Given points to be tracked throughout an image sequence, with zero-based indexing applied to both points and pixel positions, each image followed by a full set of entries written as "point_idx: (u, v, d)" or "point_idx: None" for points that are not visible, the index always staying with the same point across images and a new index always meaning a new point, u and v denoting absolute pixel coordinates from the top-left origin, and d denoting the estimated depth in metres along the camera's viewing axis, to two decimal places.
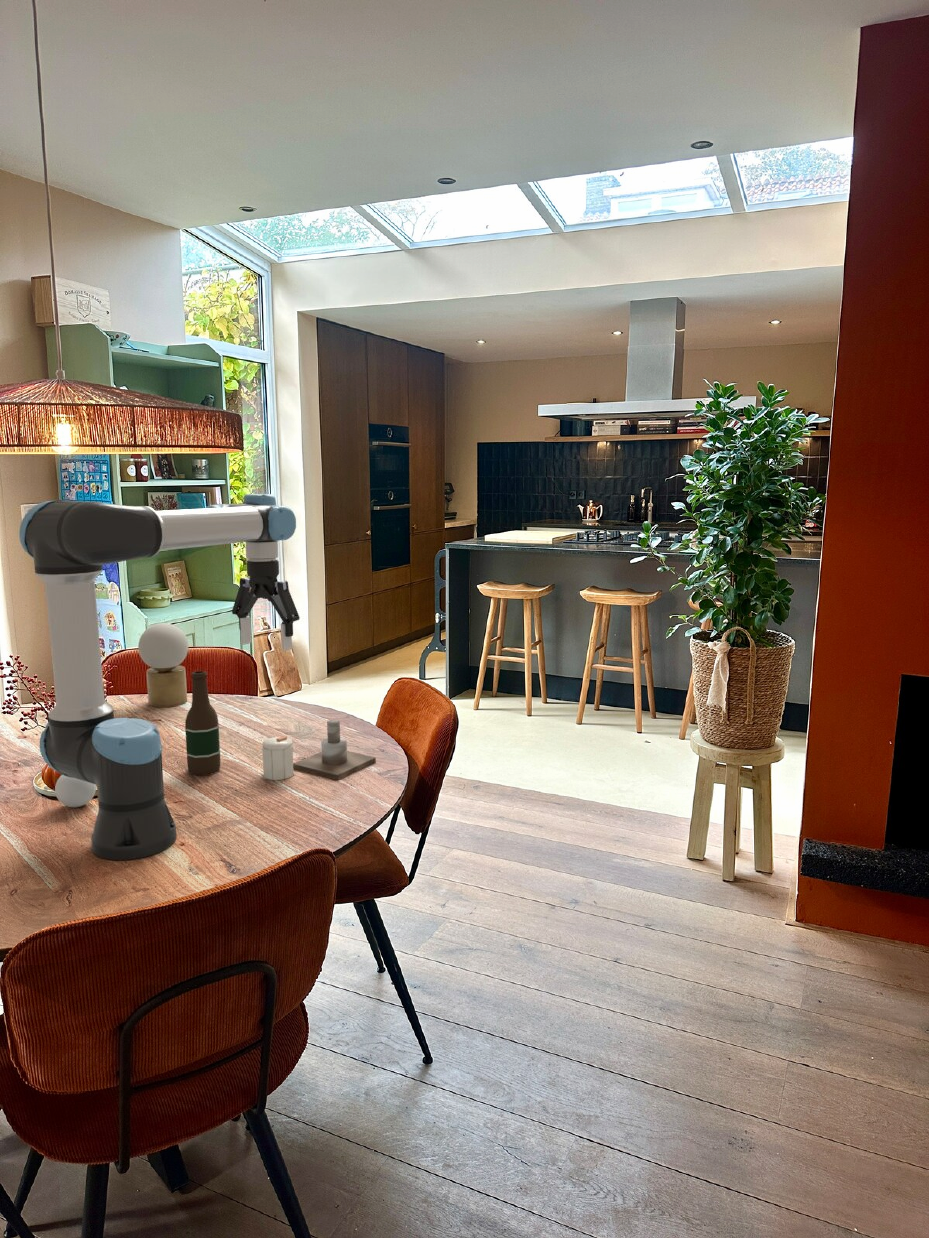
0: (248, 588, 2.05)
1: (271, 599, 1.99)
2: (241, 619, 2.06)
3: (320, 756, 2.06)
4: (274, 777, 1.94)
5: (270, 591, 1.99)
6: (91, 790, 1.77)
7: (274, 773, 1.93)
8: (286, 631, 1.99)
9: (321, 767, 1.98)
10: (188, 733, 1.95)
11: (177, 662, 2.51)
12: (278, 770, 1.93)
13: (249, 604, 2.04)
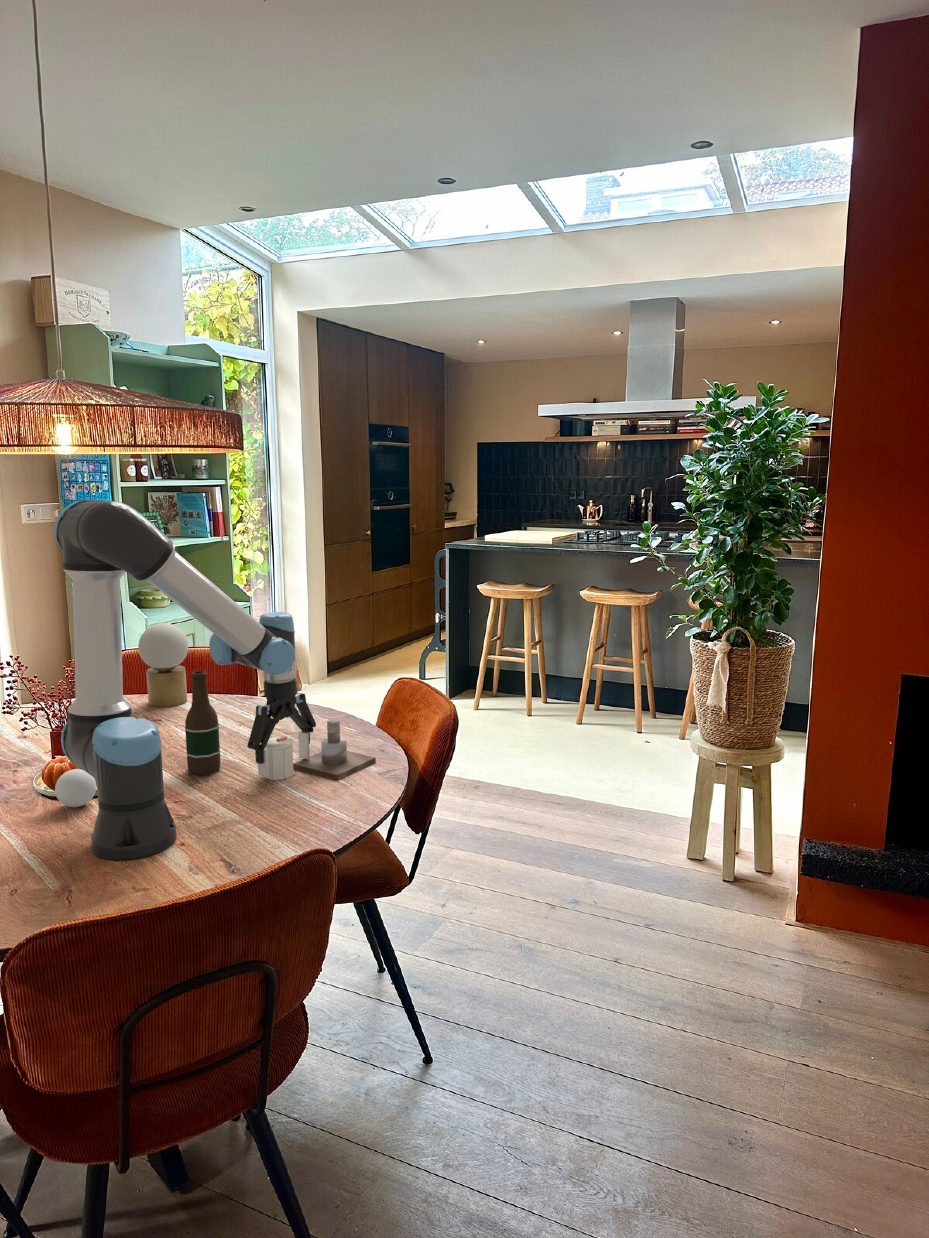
0: (301, 704, 2.01)
1: None
2: None
3: (320, 756, 2.06)
4: (274, 777, 1.94)
5: None
6: (91, 790, 1.77)
7: (274, 773, 1.93)
8: None
9: (321, 767, 1.98)
10: (188, 733, 1.95)
11: (177, 662, 2.51)
12: (278, 770, 1.93)
13: (294, 720, 2.01)
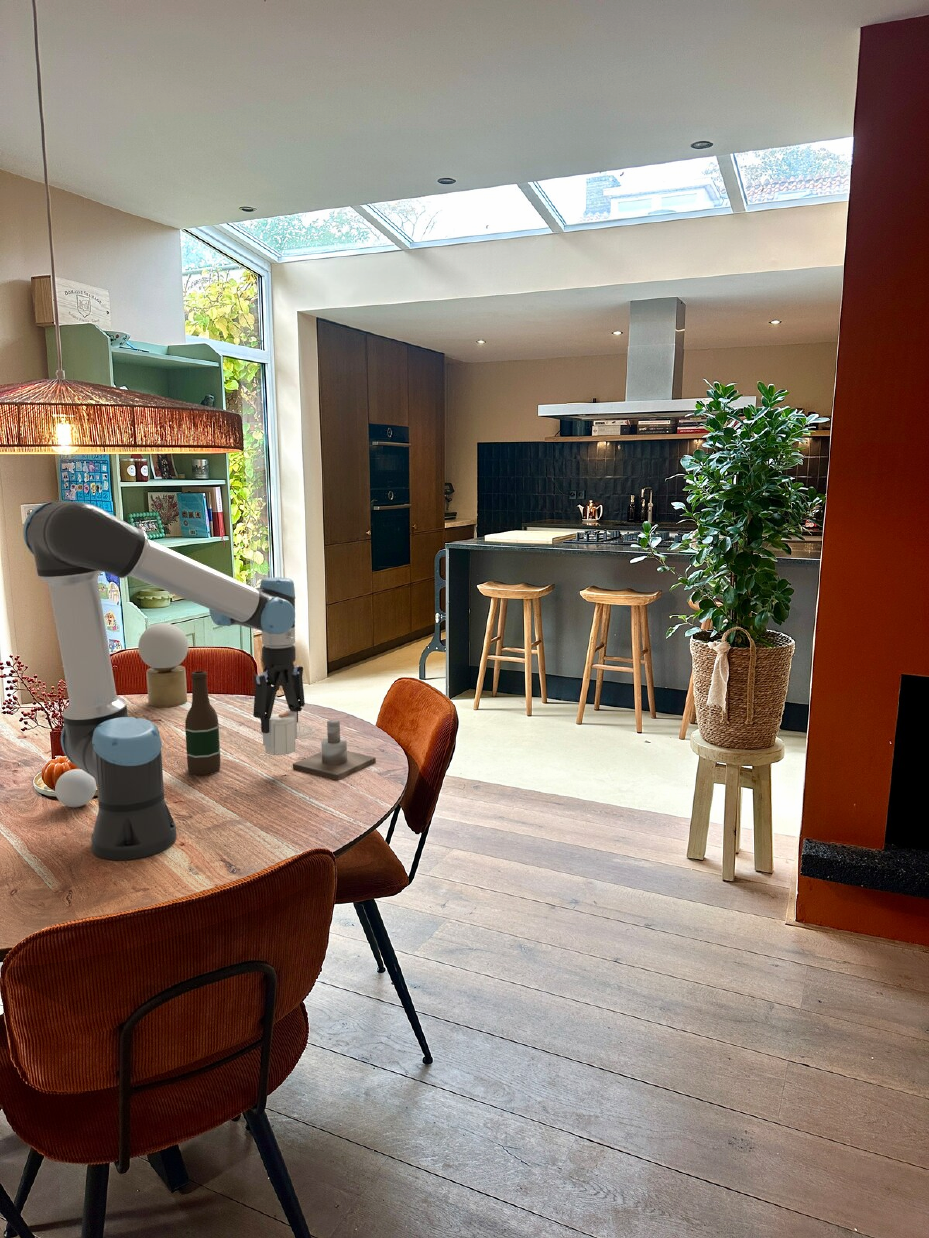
0: (297, 677, 1.98)
1: None
2: None
3: (320, 756, 2.06)
4: (276, 752, 1.94)
5: None
6: (91, 790, 1.77)
7: (276, 748, 1.93)
8: None
9: (321, 767, 1.98)
10: (188, 733, 1.95)
11: (177, 662, 2.51)
12: (280, 745, 1.93)
13: (285, 693, 1.98)
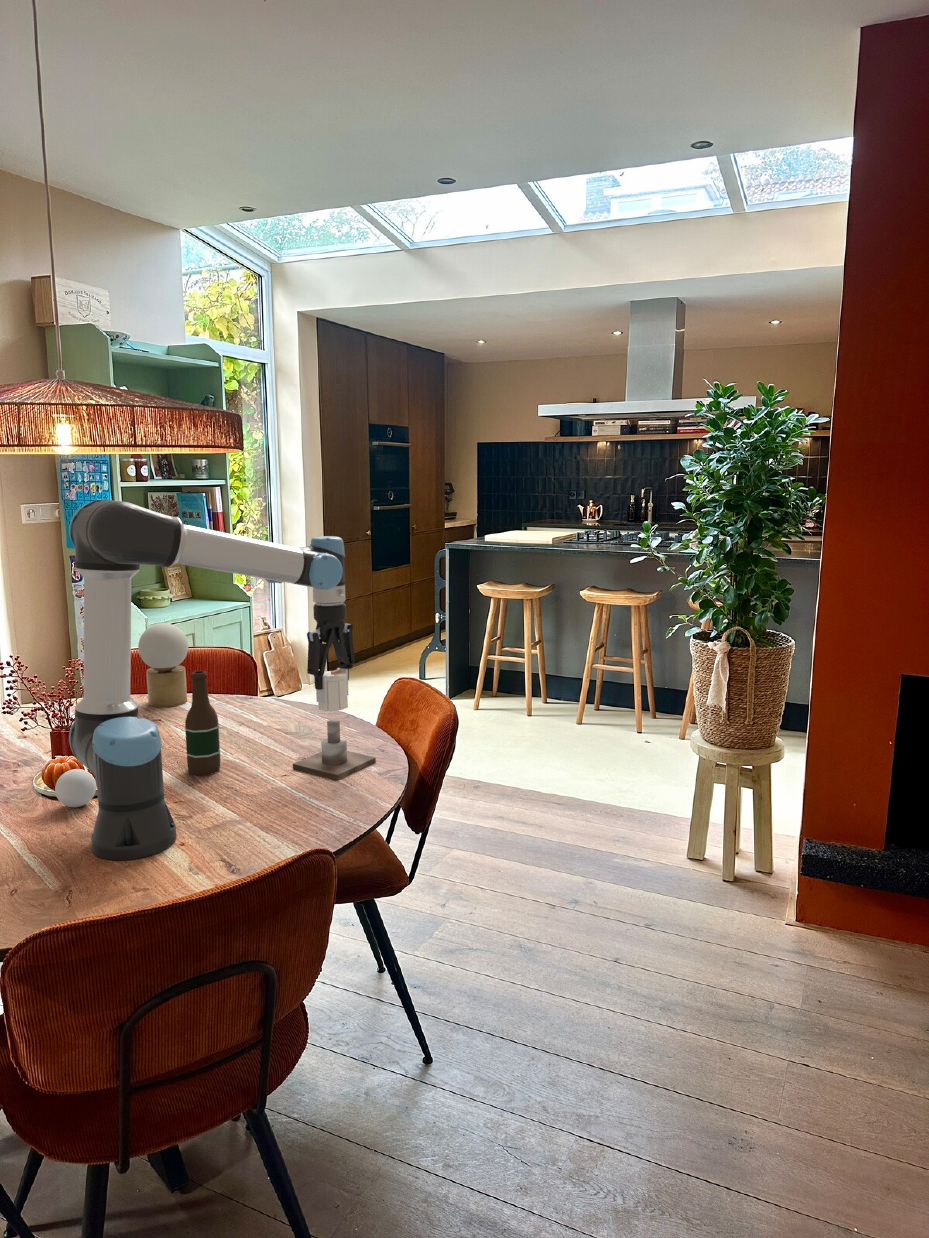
0: (347, 635, 2.02)
1: None
2: None
3: (320, 756, 2.06)
4: (329, 708, 1.97)
5: None
6: (91, 790, 1.77)
7: (329, 704, 1.97)
8: None
9: (321, 767, 1.98)
10: (188, 733, 1.95)
11: (177, 662, 2.51)
12: (333, 701, 1.97)
13: (336, 650, 2.01)
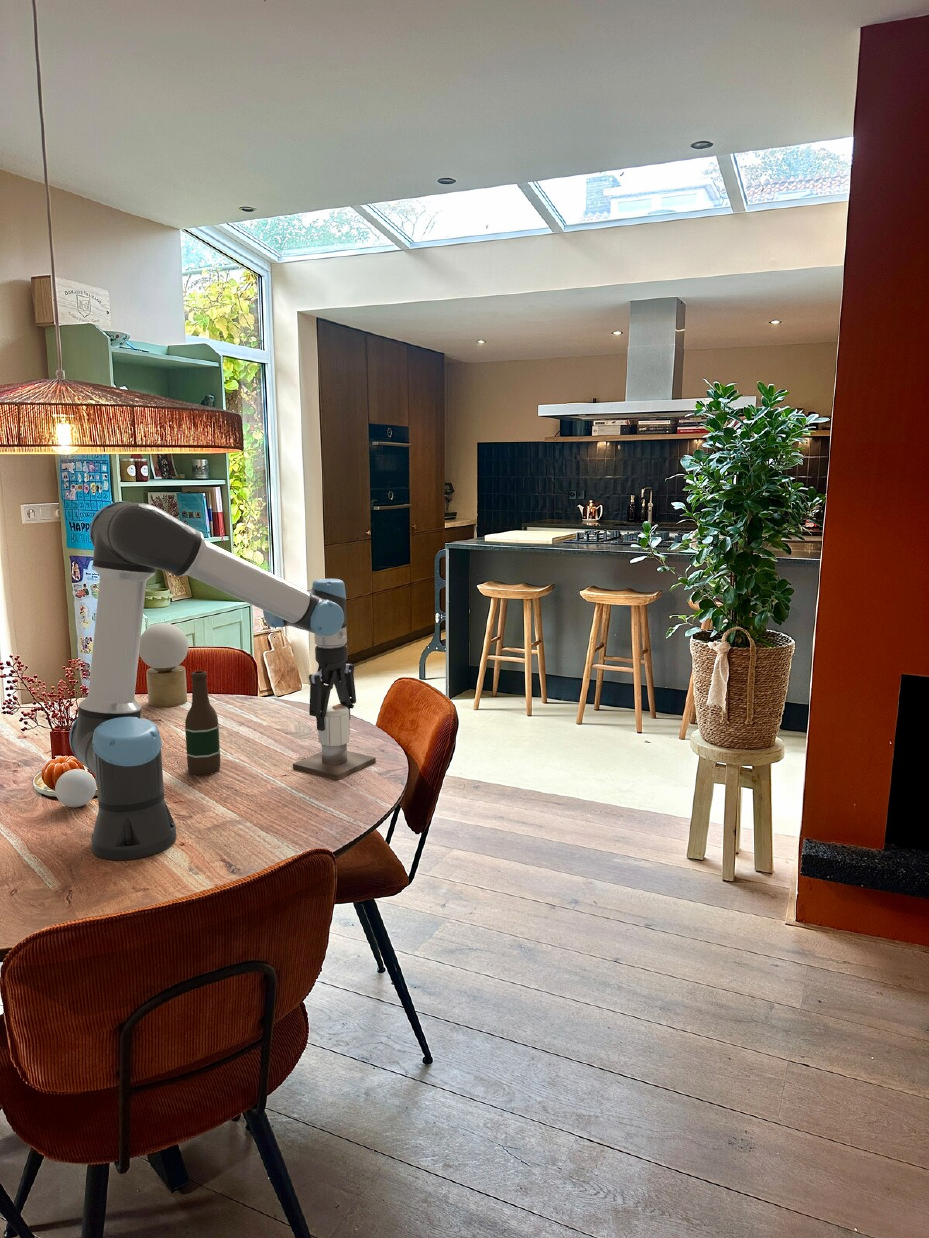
0: (348, 675, 2.03)
1: None
2: None
3: (320, 756, 2.06)
4: (331, 743, 1.99)
5: None
6: (91, 790, 1.77)
7: (331, 739, 1.98)
8: None
9: (321, 767, 1.98)
10: (188, 733, 1.95)
11: (177, 662, 2.51)
12: (335, 736, 1.98)
13: (338, 691, 2.03)
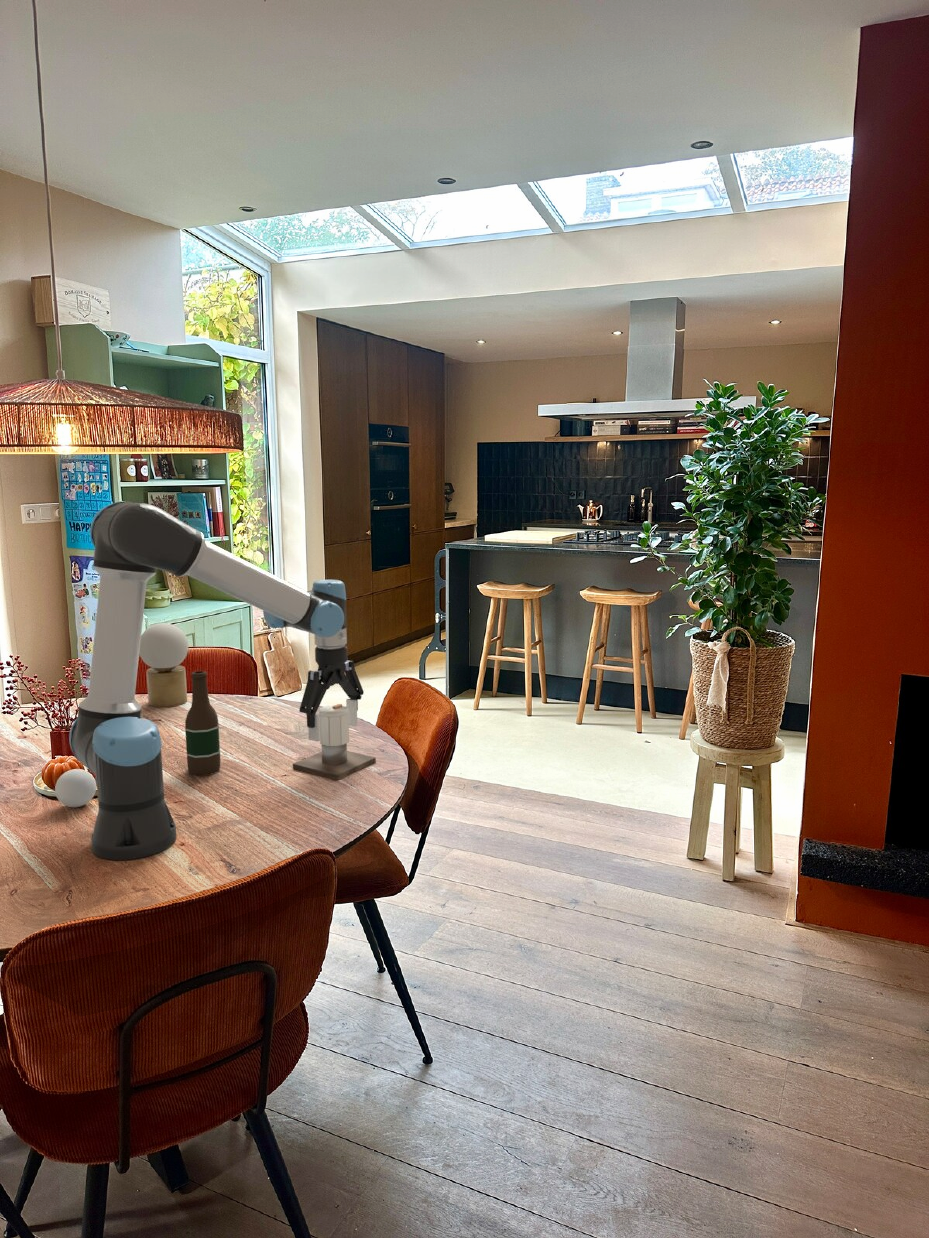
0: (350, 672, 2.04)
1: None
2: None
3: (320, 756, 2.06)
4: (331, 743, 1.99)
5: None
6: (91, 790, 1.77)
7: (331, 739, 1.98)
8: None
9: (321, 767, 1.98)
10: (188, 733, 1.95)
11: (177, 662, 2.51)
12: (335, 736, 1.98)
13: (343, 687, 2.04)
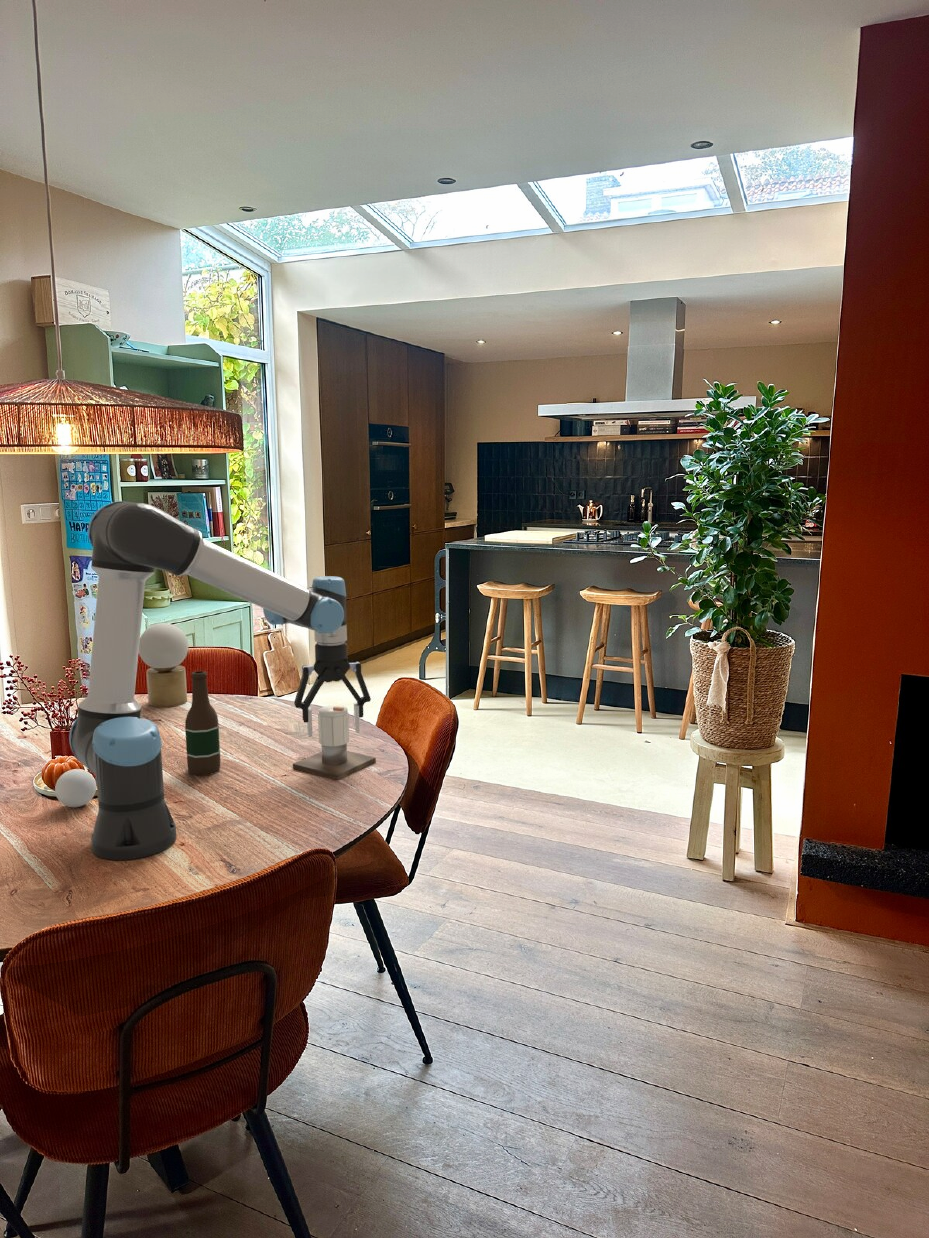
0: (356, 674, 2.00)
1: None
2: None
3: (320, 756, 2.06)
4: (319, 740, 2.01)
5: None
6: (91, 790, 1.77)
7: None
8: None
9: (321, 767, 1.98)
10: (188, 733, 1.95)
11: (177, 662, 2.51)
12: (320, 734, 2.00)
13: None
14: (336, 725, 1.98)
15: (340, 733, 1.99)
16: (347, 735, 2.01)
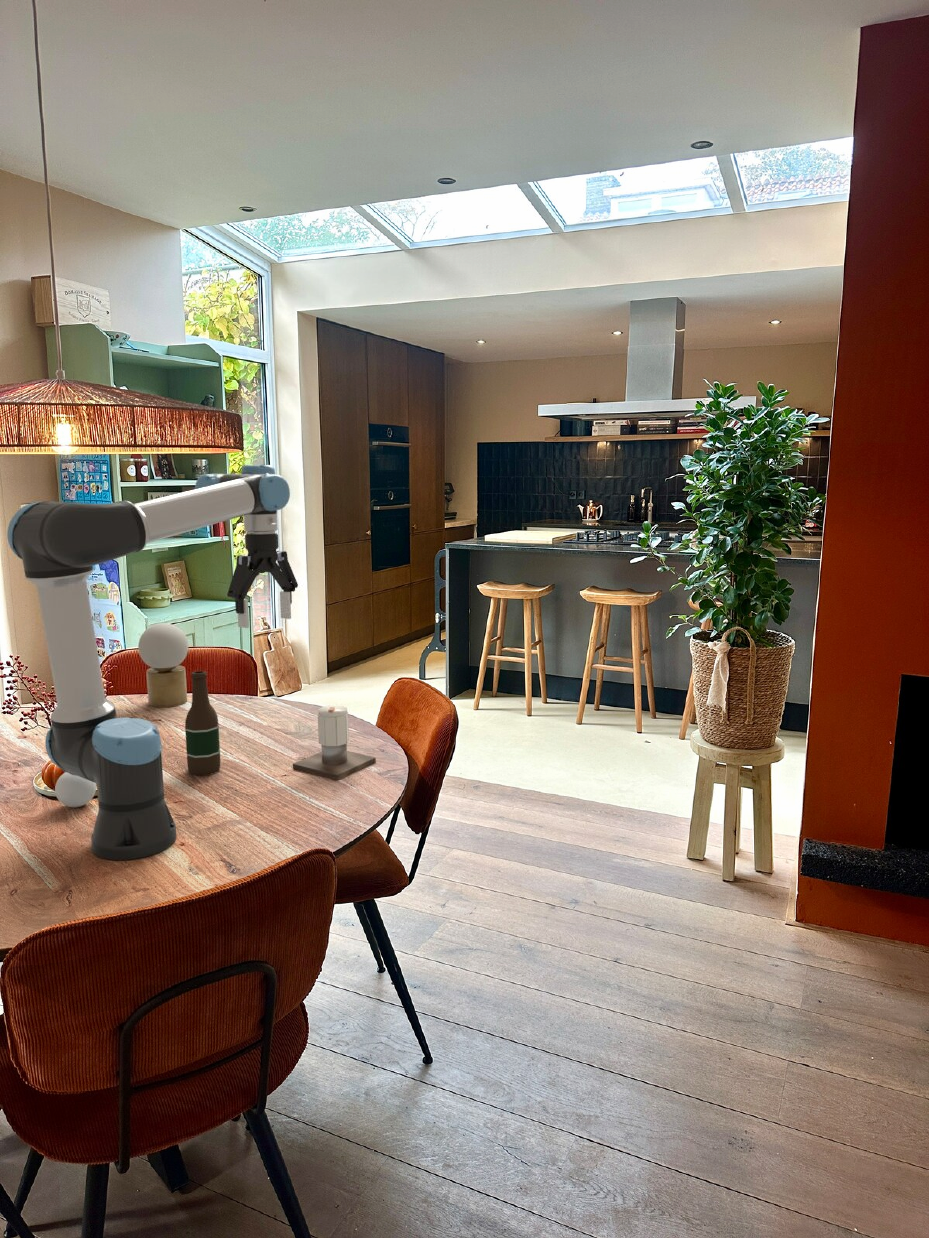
0: (283, 562, 2.01)
1: None
2: None
3: (320, 756, 2.06)
4: None
5: None
6: (91, 790, 1.77)
7: None
8: None
9: (321, 767, 1.98)
10: (188, 733, 1.95)
11: (177, 662, 2.51)
12: None
13: (275, 578, 2.01)
14: (320, 723, 1.99)
15: (322, 733, 1.99)
16: (332, 739, 1.98)
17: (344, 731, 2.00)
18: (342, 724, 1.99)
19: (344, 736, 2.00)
